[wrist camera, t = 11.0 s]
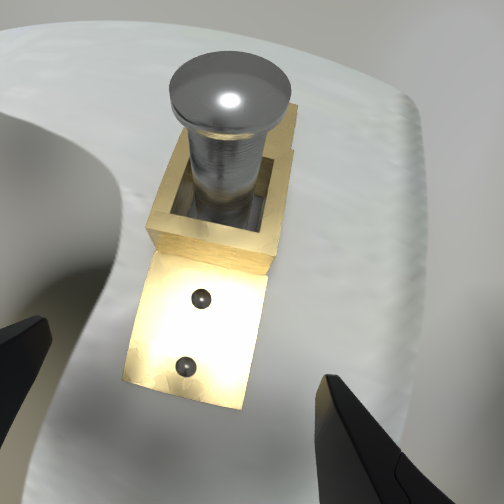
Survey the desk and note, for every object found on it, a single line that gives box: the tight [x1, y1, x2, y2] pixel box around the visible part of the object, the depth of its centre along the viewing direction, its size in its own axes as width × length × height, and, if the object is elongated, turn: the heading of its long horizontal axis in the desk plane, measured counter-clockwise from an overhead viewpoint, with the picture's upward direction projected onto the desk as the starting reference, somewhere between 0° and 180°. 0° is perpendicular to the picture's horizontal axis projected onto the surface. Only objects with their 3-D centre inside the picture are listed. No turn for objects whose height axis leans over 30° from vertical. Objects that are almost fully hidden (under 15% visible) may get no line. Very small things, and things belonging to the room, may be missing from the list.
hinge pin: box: [169, 51, 291, 230], centre depth 15 cm, size 4×4×12 cm
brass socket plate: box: [122, 103, 298, 410], centre depth 18 cm, size 23×7×4 cm, turn 169°
